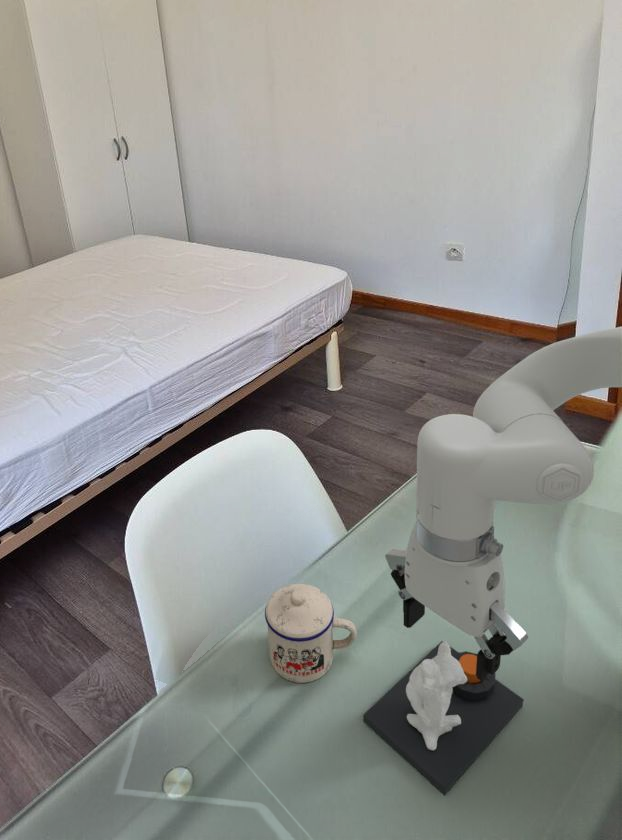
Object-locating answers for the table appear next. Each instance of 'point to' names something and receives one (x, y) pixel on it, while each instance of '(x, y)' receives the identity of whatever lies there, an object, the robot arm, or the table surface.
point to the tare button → (469, 667)
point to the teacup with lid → (303, 632)
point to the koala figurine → (434, 694)
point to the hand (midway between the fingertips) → (448, 644)
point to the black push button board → (457, 749)
